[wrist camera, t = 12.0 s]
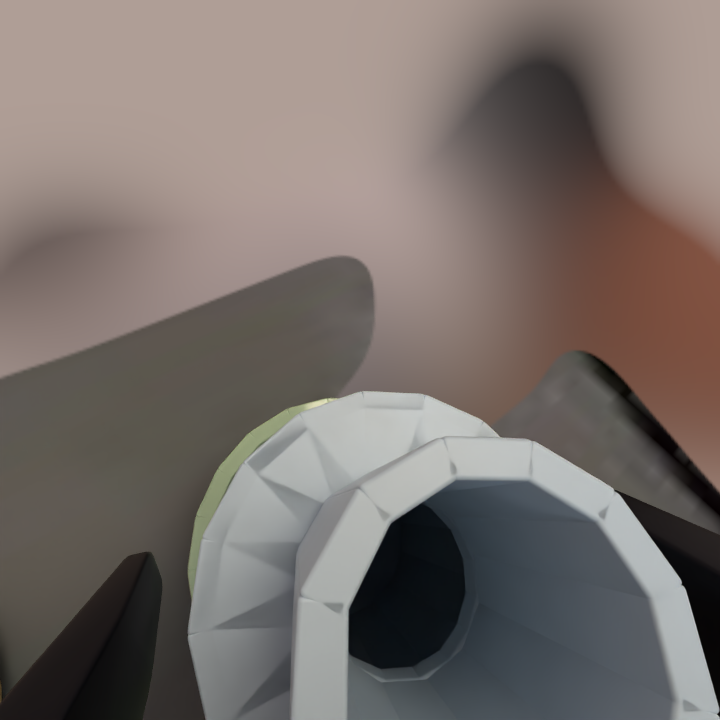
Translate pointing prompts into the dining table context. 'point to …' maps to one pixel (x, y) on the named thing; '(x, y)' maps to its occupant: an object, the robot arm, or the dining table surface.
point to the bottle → (434, 581)
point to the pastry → (0, 693)
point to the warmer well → (228, 472)
